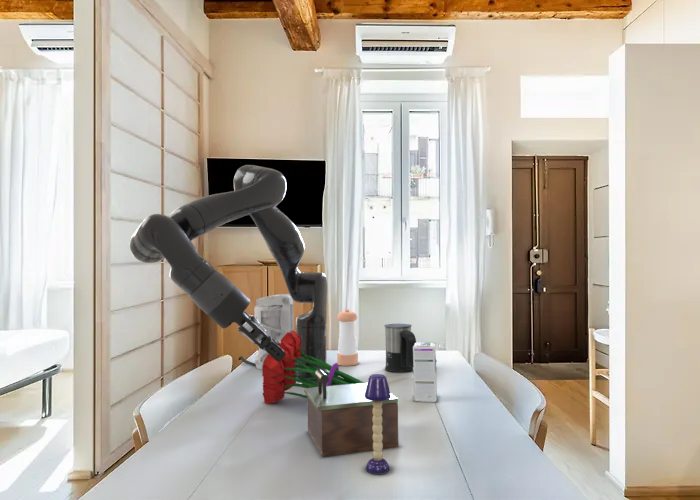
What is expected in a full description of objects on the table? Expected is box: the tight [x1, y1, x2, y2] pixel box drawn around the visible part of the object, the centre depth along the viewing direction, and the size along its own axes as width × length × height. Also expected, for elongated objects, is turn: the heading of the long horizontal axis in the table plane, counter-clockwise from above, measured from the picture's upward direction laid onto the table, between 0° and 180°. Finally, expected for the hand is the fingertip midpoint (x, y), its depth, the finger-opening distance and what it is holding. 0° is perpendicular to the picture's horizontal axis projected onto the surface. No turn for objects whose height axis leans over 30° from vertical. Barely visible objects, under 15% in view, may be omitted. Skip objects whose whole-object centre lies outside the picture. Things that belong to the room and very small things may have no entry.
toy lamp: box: [365, 373, 392, 475], centre depth 87 cm, size 5×5×17 cm
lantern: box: [253, 293, 294, 370], centre depth 169 cm, size 13×10×25 cm
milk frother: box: [383, 323, 437, 373], centre depth 163 cm, size 14×16×15 cm
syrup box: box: [412, 341, 438, 403], centre depth 129 cm, size 6×6×14 cm
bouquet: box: [261, 330, 365, 404], centre depth 125 cm, size 20×16×30 cm
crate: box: [307, 398, 399, 458], centre depth 101 cm, size 16×14×9 cm
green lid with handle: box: [303, 370, 399, 411], centre depth 101 cm, size 16×14×6 cm
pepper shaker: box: [336, 308, 359, 367], centre depth 173 cm, size 7×7×19 cm
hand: (279, 353), depth 97 cm, fingers open, 8 cm apart
